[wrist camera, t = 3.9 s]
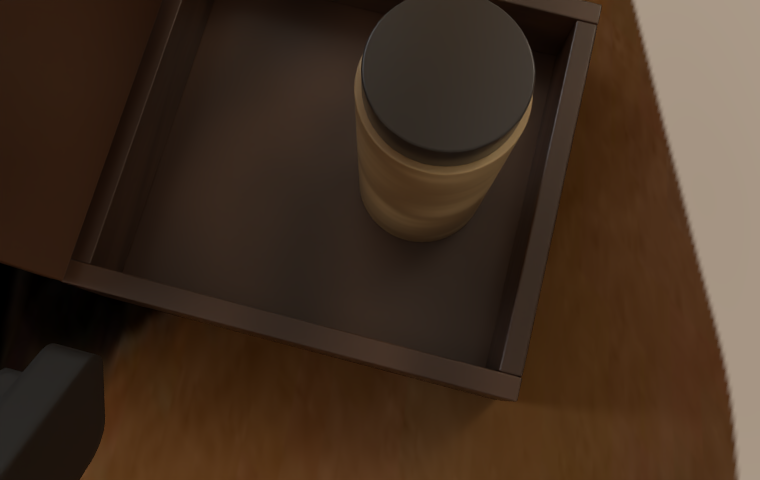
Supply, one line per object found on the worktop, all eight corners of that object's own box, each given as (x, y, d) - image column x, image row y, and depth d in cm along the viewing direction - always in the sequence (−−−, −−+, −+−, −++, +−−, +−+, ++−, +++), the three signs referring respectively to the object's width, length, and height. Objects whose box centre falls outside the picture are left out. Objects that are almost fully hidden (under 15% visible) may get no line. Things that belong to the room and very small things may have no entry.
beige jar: (494, 140, 28) (561, 7, 18) (467, 256, 27) (521, 181, 17) (376, 110, 28) (380, -37, 19) (345, 225, 27) (331, 133, 18)
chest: (573, 52, 30) (602, 4, 26) (496, 400, 27) (517, 401, 23) (214, -35, 30) (192, -95, 27) (101, 295, 27) (59, 280, 24)
